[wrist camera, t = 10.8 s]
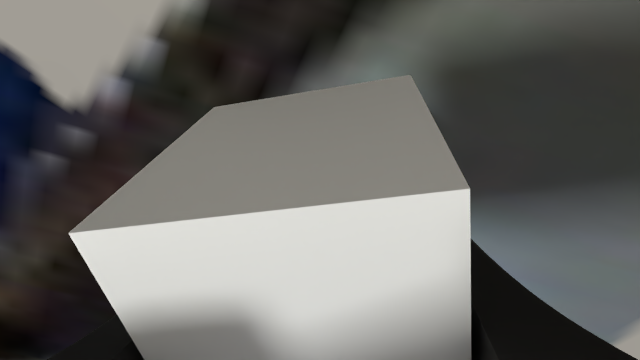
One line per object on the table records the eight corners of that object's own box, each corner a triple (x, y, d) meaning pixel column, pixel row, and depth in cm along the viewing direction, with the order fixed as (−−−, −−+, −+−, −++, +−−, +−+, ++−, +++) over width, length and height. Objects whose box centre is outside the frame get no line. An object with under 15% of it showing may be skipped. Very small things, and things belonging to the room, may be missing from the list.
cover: (281, 313, 16) (234, 509, 10) (214, 107, 12) (68, 233, 6) (428, 304, 15) (472, 517, 9) (410, 74, 11) (469, 188, 5)
